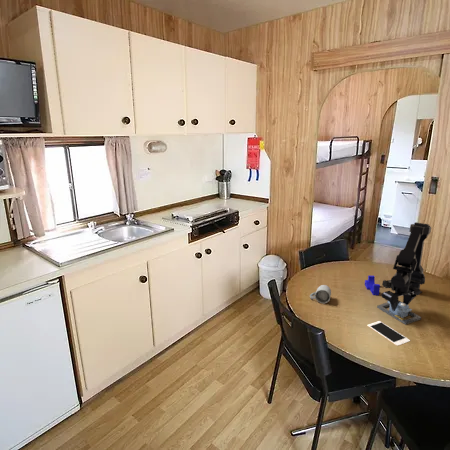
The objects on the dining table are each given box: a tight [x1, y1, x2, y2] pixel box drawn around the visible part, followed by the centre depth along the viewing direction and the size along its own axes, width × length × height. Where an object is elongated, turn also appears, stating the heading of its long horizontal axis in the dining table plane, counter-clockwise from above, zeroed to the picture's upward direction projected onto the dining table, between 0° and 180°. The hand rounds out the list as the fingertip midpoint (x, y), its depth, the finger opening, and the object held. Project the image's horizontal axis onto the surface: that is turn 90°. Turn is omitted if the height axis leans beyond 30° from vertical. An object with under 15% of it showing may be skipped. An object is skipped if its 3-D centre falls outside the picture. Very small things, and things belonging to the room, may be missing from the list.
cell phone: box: [367, 320, 411, 346], centre depth 140 cm, size 8×16×1 cm, turn 23°
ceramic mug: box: [309, 284, 332, 304], centre depth 167 cm, size 11×8×8 cm
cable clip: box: [364, 275, 381, 296], centre depth 176 cm, size 12×4×6 cm, turn 170°
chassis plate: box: [376, 301, 422, 326], centre depth 154 cm, size 10×16×1 cm, turn 23°
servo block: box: [387, 300, 413, 319], centre depth 153 cm, size 4×10×6 cm, turn 23°
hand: (398, 309), depth 153 cm, fingers open, 7 cm apart
